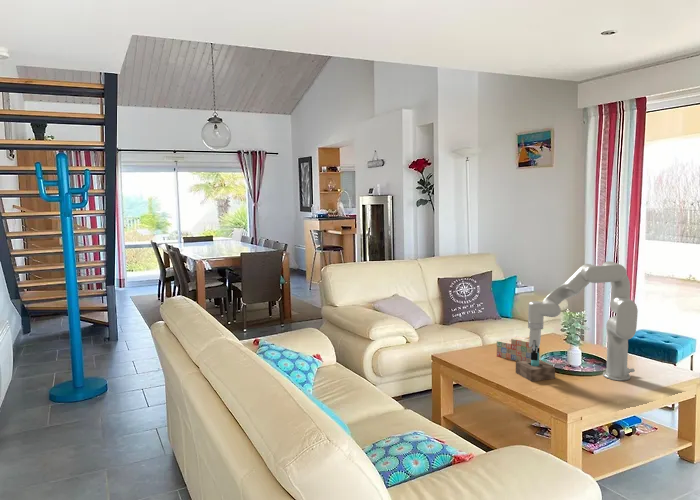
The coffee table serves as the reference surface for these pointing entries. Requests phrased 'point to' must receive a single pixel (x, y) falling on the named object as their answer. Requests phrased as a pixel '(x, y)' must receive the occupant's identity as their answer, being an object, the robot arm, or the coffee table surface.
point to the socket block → (535, 370)
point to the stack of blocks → (514, 349)
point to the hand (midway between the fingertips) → (535, 357)
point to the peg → (535, 362)
